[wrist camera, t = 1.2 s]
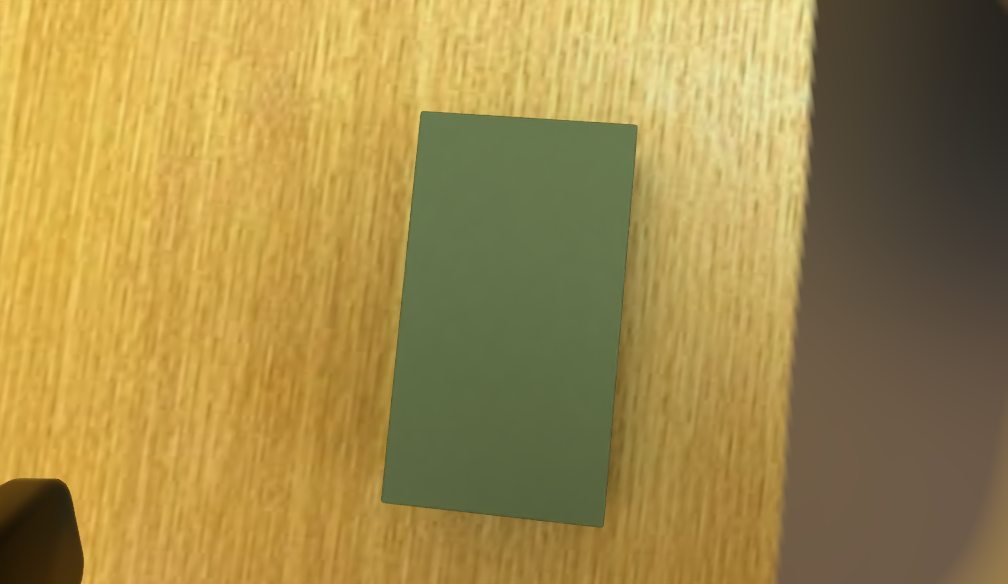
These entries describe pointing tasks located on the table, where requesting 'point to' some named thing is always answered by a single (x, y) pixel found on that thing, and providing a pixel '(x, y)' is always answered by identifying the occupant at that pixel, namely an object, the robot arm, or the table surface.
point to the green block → (511, 317)
